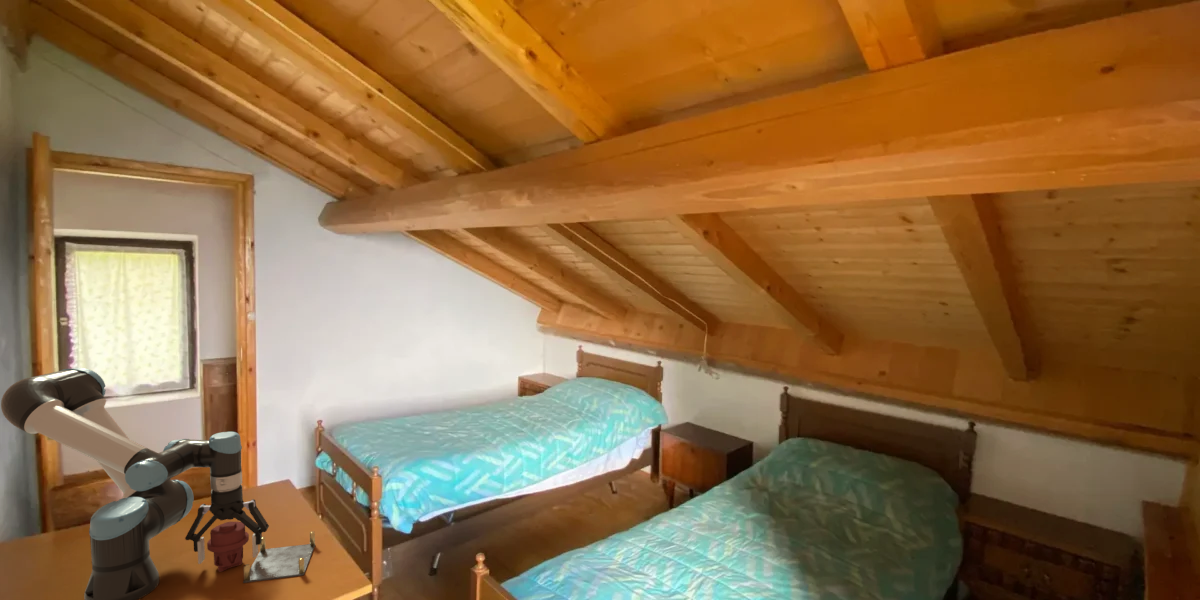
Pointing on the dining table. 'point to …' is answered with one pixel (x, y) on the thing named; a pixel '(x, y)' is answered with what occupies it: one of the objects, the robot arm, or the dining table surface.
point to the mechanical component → (228, 544)
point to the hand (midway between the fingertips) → (228, 558)
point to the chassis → (279, 562)
